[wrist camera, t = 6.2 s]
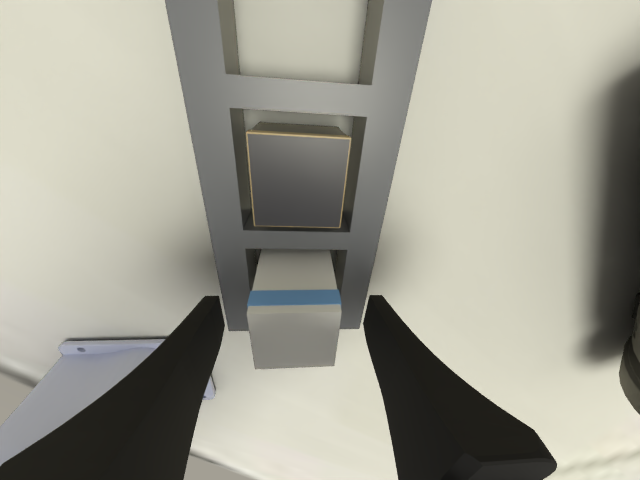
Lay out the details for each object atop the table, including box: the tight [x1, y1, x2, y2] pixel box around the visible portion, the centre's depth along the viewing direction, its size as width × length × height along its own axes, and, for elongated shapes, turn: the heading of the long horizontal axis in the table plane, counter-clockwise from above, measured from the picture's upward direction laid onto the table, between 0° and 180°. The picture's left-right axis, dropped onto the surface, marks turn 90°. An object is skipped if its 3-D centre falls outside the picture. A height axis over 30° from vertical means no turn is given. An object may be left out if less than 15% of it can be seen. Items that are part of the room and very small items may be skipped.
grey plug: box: [247, 249, 342, 369], centre depth 13 cm, size 4×4×6 cm
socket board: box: [165, 0, 432, 331], centre depth 11 cm, size 8×19×3 cm, turn 176°
